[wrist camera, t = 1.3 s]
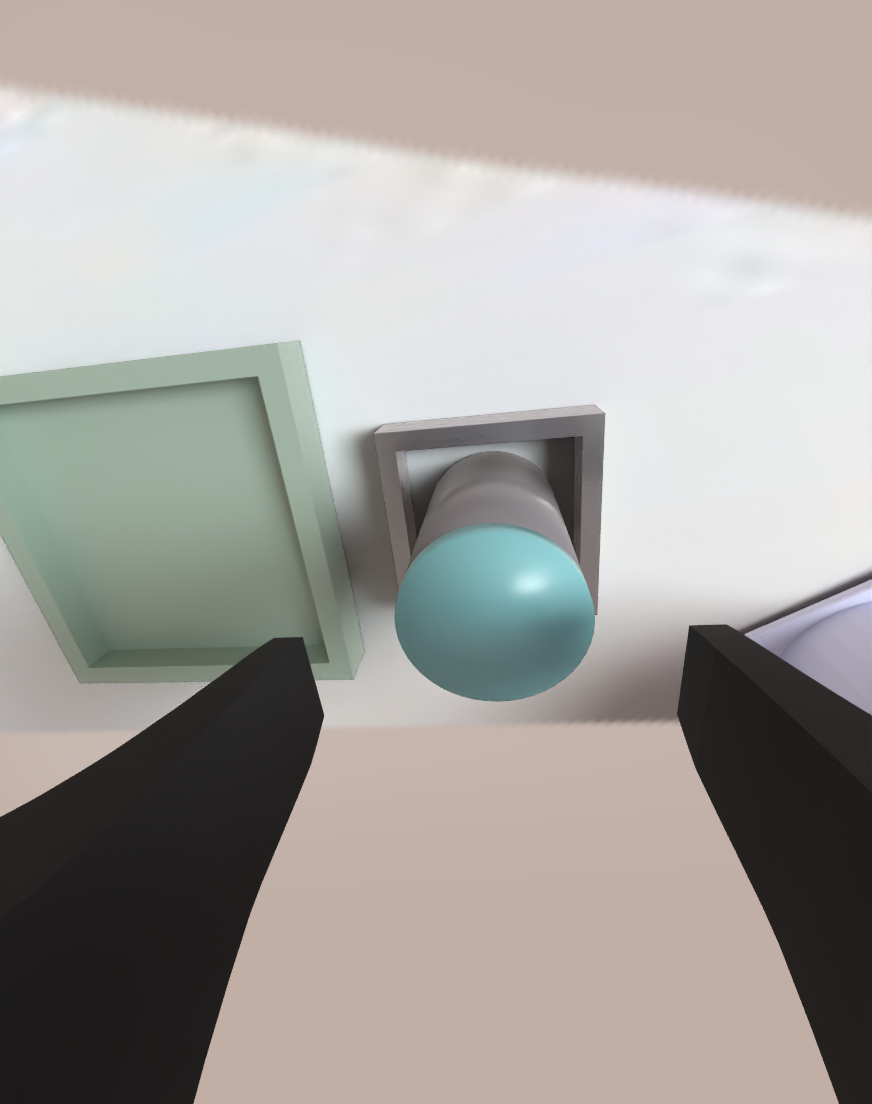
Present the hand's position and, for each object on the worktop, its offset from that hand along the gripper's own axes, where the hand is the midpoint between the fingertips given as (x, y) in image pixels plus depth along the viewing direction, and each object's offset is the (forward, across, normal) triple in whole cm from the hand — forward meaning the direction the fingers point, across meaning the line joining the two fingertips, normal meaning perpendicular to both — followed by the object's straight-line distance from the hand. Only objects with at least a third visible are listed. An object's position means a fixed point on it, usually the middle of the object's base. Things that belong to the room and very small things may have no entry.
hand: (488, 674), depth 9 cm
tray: (+9, +12, 0) cm, 15 cm away
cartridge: (+9, 0, 0) cm, 9 cm away
